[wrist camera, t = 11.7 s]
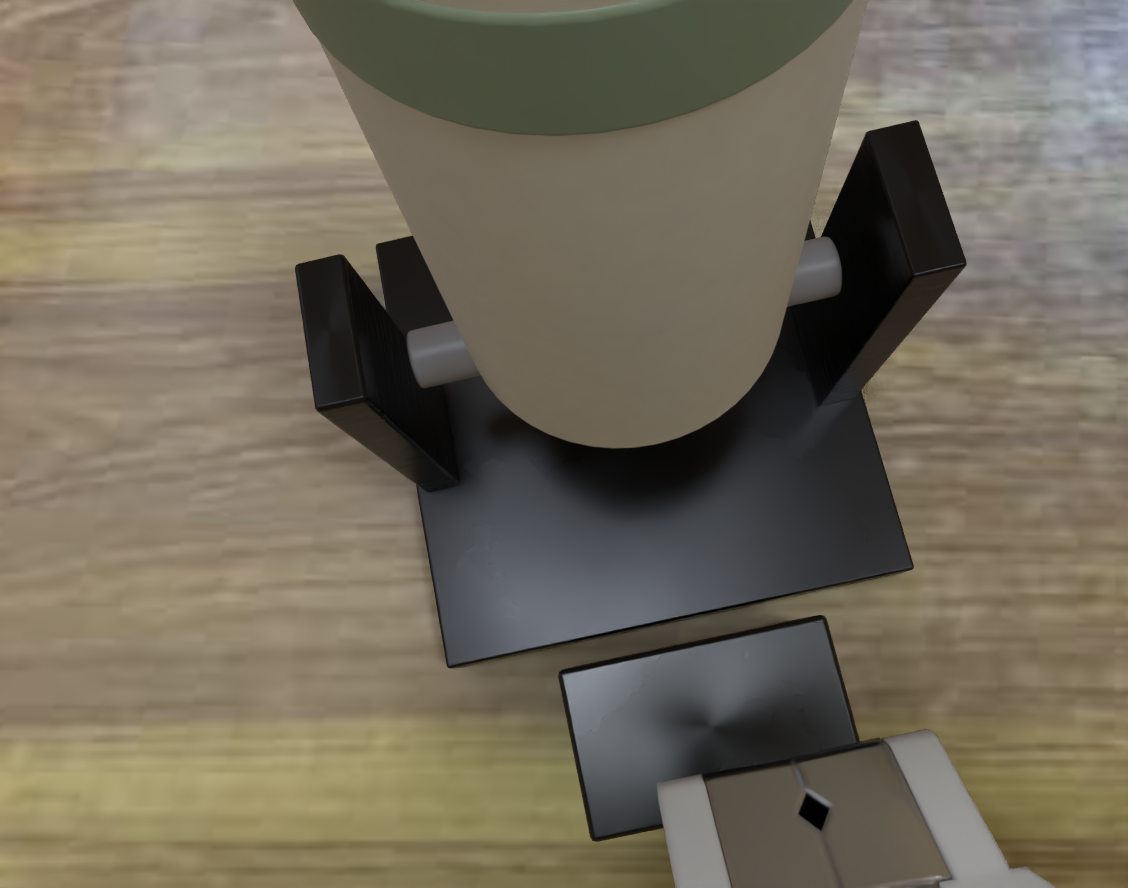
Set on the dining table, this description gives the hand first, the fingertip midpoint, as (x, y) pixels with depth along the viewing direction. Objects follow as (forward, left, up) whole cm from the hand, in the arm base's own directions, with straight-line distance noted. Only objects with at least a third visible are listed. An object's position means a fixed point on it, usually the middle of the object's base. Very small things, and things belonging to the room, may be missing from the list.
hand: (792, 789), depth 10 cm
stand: (+6, 0, -10) cm, 11 cm away
